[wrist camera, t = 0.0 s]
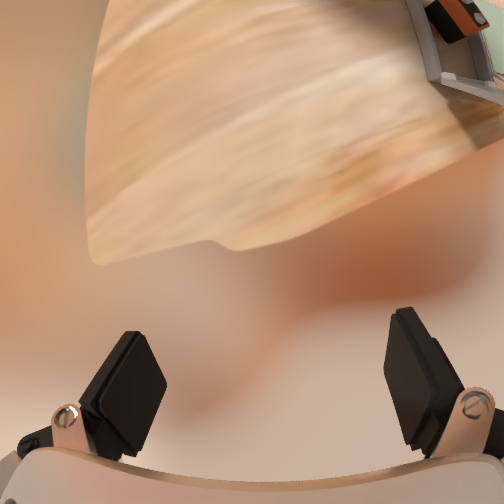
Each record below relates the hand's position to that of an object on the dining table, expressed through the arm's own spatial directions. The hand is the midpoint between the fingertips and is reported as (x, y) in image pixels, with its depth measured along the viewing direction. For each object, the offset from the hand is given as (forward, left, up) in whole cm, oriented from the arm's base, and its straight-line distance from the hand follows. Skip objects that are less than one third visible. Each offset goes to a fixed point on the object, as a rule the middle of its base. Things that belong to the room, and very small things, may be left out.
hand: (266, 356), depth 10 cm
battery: (-26, +31, -32) cm, 51 cm away
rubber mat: (-27, +46, -31) cm, 62 cm away
